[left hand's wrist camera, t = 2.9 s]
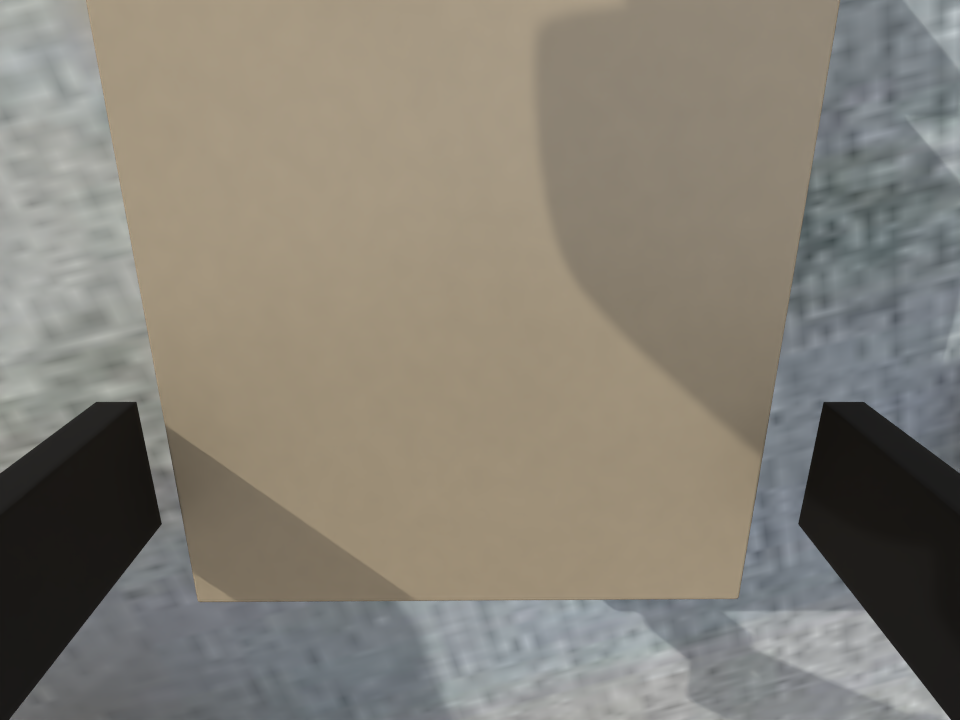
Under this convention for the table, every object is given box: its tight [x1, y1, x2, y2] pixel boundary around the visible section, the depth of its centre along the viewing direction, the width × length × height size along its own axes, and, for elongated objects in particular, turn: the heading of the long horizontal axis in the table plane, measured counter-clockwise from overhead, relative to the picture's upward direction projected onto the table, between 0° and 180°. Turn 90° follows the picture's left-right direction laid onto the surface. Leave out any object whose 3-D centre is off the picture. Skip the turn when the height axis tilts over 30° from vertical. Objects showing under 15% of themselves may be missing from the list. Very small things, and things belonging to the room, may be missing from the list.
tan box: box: [86, 0, 840, 602], centre depth 16 cm, size 17×12×11 cm, turn 0°
